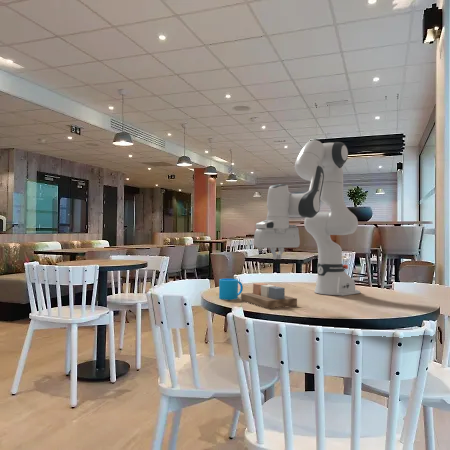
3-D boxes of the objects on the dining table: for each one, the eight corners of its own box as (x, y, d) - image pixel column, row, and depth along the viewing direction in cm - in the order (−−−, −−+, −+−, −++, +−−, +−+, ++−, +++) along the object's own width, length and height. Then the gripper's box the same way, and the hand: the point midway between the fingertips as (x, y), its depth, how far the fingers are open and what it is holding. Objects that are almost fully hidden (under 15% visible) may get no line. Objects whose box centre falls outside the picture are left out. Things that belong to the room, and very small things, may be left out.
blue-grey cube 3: (278, 297, 174) (278, 286, 174) (284, 299, 170) (284, 288, 170) (269, 298, 172) (269, 287, 172) (275, 300, 168) (275, 288, 168)
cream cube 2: (269, 295, 179) (269, 284, 179) (275, 297, 175) (275, 286, 175) (260, 296, 177) (260, 285, 177) (266, 297, 173) (266, 286, 173)
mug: (226, 300, 182) (226, 281, 182) (215, 297, 188) (215, 279, 188) (248, 298, 189) (248, 279, 189) (236, 295, 196) (237, 277, 196)
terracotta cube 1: (261, 293, 185) (261, 283, 185) (267, 294, 181) (267, 284, 181) (253, 294, 182) (253, 283, 182) (258, 295, 179) (258, 284, 179)
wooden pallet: (268, 298, 188) (268, 291, 188) (296, 306, 171) (296, 298, 171) (241, 300, 182) (241, 293, 182) (267, 308, 164) (267, 300, 164)
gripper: (293, 224, 179) (293, 258, 179) (252, 223, 169) (251, 258, 169) (303, 224, 173) (302, 259, 173) (260, 223, 164) (260, 260, 163)
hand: (277, 259), depth 171 cm, fingers closed
